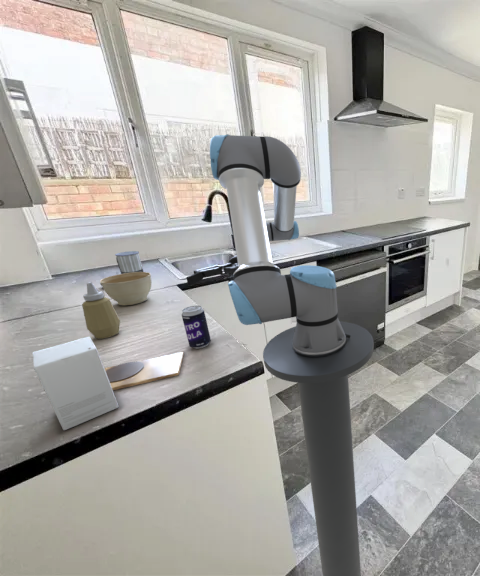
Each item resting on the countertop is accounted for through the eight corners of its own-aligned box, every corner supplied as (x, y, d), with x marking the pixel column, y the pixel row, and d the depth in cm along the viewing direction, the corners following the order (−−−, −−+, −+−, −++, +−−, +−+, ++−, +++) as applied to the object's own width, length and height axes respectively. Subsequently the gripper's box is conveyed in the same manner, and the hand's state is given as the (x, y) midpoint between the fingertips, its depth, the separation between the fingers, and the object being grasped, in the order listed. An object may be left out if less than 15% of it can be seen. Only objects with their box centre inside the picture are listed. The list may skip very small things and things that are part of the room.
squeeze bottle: (92, 343, 95) (72, 288, 89) (89, 335, 100) (70, 283, 94) (125, 334, 101) (108, 282, 95) (121, 327, 106) (104, 277, 100)
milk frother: (151, 279, 158) (143, 251, 153) (122, 289, 143) (113, 258, 138) (127, 278, 160) (118, 250, 155) (96, 288, 145) (86, 258, 140)
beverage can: (187, 345, 93) (178, 308, 89) (207, 338, 97) (199, 303, 93) (193, 352, 89) (183, 314, 85) (214, 345, 93) (205, 308, 89)
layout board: (184, 353, 88) (183, 350, 88) (178, 375, 79) (177, 371, 78) (95, 372, 80) (93, 369, 80) (76, 399, 71) (75, 395, 70)
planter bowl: (158, 302, 127) (151, 277, 124) (107, 312, 118) (98, 285, 114) (155, 292, 139) (149, 269, 136) (109, 300, 130) (101, 276, 126)
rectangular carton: (111, 390, 73) (91, 334, 68) (119, 407, 67) (97, 347, 63) (58, 411, 67) (30, 351, 62) (62, 432, 61) (32, 367, 56)
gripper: (276, 273, 117) (249, 293, 97) (213, 273, 119) (174, 292, 99) (273, 254, 114) (245, 270, 94) (209, 254, 116) (168, 269, 96)
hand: (208, 281), depth 97 cm, fingers open, 13 cm apart
